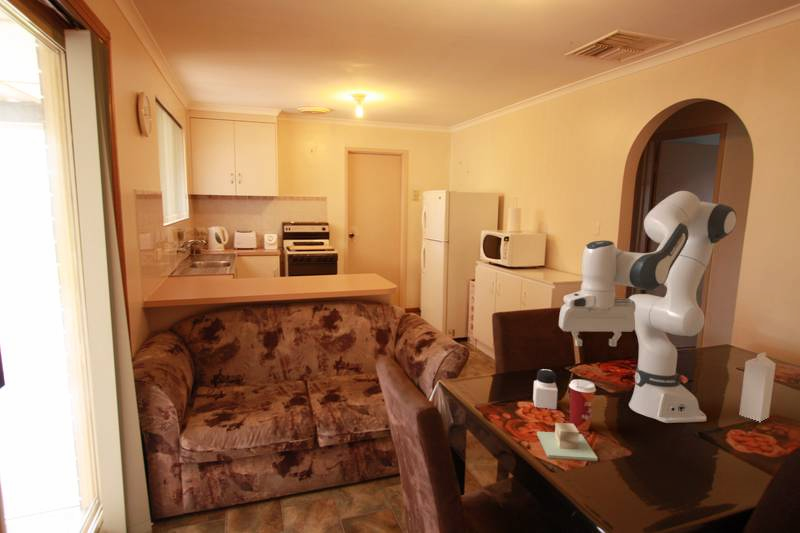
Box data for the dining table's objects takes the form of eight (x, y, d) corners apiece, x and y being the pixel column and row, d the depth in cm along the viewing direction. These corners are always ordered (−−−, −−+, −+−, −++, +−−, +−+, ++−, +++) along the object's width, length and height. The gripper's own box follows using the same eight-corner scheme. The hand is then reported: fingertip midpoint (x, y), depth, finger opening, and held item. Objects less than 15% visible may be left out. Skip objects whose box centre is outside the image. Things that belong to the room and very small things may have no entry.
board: (581, 436, 130) (581, 434, 130) (597, 460, 117) (597, 458, 117) (536, 433, 131) (536, 431, 131) (547, 457, 118) (548, 455, 118)
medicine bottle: (556, 410, 148) (559, 375, 146) (534, 407, 149) (536, 373, 148) (553, 401, 155) (556, 368, 153) (532, 399, 156) (534, 366, 155)
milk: (768, 419, 145) (777, 354, 142) (760, 423, 142) (769, 357, 139) (747, 411, 150) (755, 349, 147) (738, 415, 147) (746, 351, 144)
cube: (572, 440, 126) (573, 423, 126) (577, 449, 121) (579, 432, 121) (554, 439, 127) (555, 422, 126) (559, 448, 122) (560, 431, 121)
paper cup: (590, 435, 131) (594, 390, 130) (563, 427, 135) (567, 384, 134) (594, 424, 138) (598, 382, 136) (569, 418, 142) (572, 376, 140)
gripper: (630, 296, 126) (628, 342, 128) (557, 296, 128) (556, 342, 130) (640, 300, 120) (638, 349, 122) (564, 301, 122) (562, 349, 124)
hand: (595, 345), depth 126 cm, fingers open, 8 cm apart
